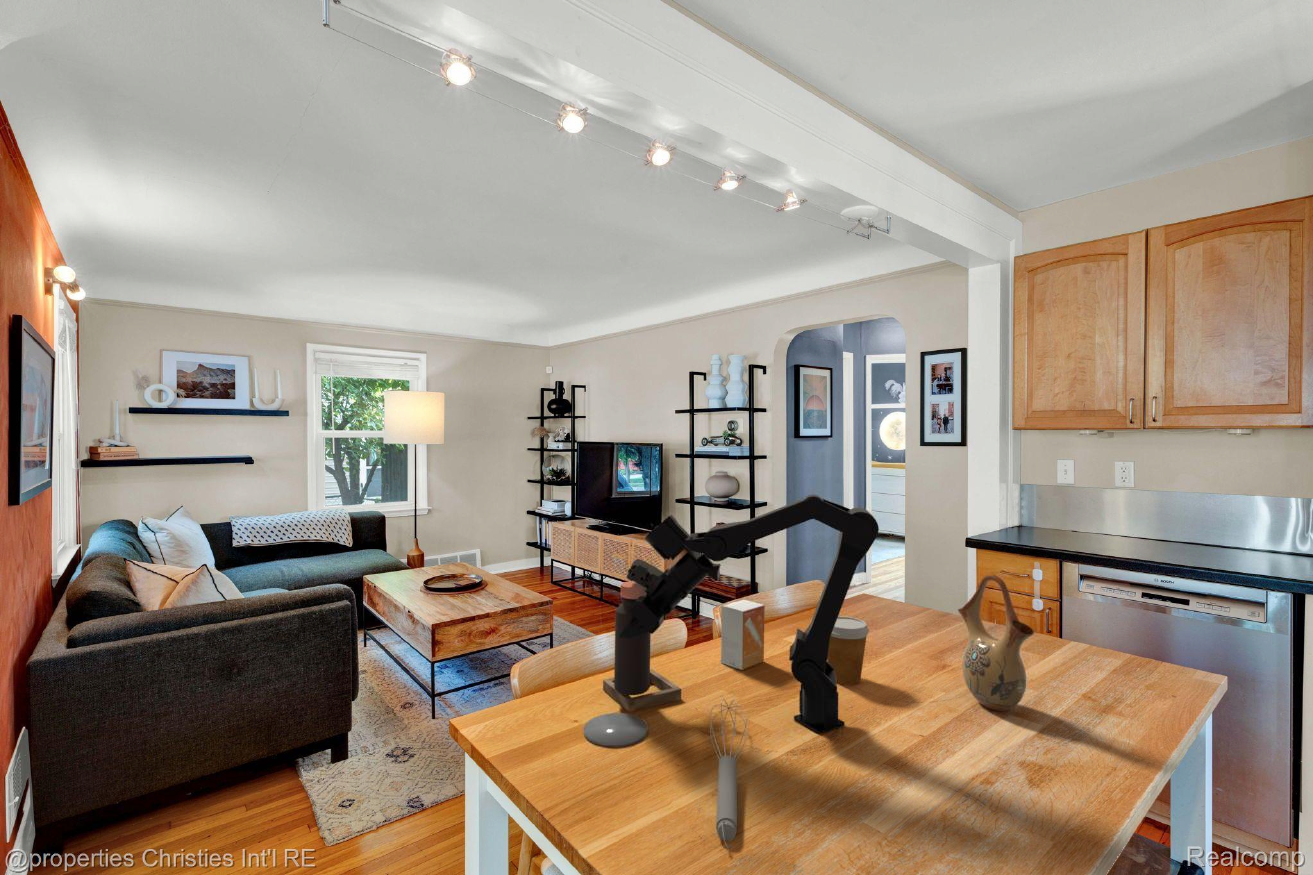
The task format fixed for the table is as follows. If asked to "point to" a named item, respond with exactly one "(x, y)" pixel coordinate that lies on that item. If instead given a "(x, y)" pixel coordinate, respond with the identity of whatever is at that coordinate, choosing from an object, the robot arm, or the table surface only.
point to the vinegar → (631, 647)
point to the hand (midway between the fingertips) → (626, 632)
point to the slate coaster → (615, 729)
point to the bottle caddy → (648, 700)
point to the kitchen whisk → (727, 786)
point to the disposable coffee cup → (847, 649)
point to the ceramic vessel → (994, 654)
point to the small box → (742, 634)
